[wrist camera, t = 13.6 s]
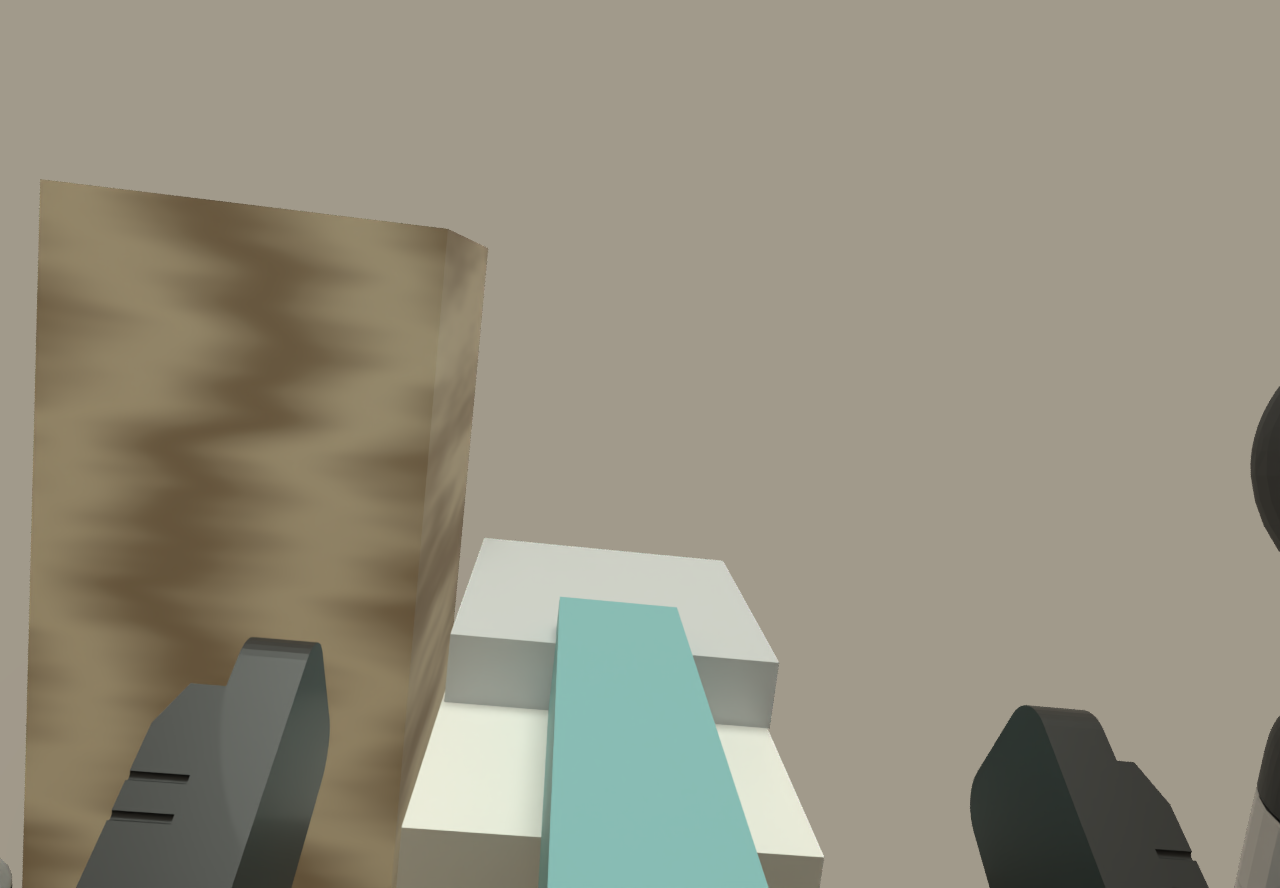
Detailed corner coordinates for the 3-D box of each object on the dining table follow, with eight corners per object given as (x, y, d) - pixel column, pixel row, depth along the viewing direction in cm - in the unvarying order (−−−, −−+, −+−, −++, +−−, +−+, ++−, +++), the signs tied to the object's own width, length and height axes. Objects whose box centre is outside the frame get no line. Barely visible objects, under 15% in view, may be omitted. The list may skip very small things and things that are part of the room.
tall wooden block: (417, 1010, 42) (488, 248, 37) (355, 1297, 30) (447, 228, 25) (174, 997, 41) (215, 215, 36) (11, 1287, 29) (40, 179, 24)
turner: (716, 609, 29) (725, 537, 29) (1016, 1279, 9) (1057, 1076, 9) (479, 587, 29) (486, 514, 28) (271, 1254, 9) (287, 1036, 9)
